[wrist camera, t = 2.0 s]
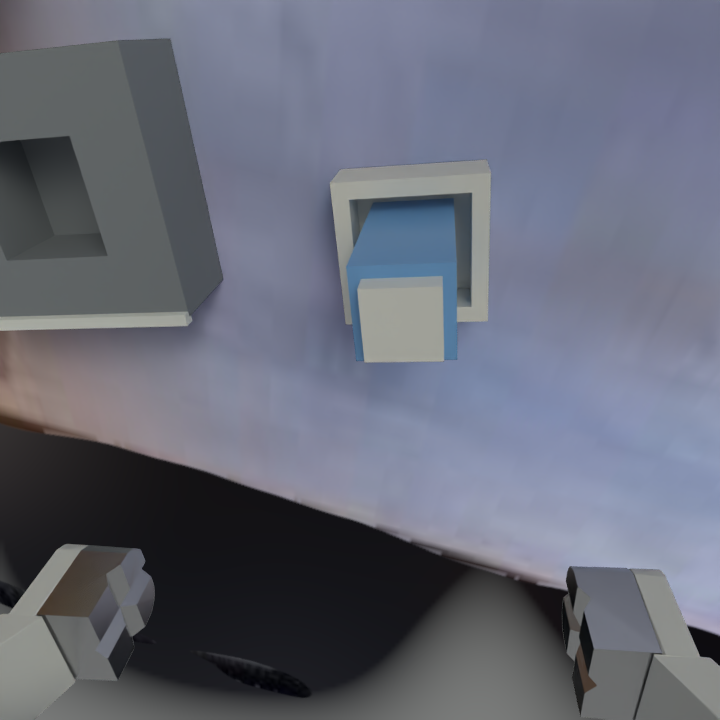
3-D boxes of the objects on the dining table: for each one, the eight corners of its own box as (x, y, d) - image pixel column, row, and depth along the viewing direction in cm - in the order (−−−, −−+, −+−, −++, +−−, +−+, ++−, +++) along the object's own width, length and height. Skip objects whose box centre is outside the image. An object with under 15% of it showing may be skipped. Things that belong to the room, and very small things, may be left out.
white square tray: (486, 159, 28) (491, 172, 25) (484, 297, 31) (487, 321, 29) (340, 169, 29) (329, 183, 26) (353, 301, 32) (345, 324, 30)
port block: (170, 38, 27) (112, 40, 22) (224, 284, 33) (187, 326, 28) (-55, 62, 29) (-151, 69, 24) (36, 290, 35) (-28, 331, 30)
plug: (453, 198, 28) (457, 272, 20) (454, 274, 30) (457, 373, 21) (373, 202, 29) (341, 276, 20) (378, 277, 31) (352, 373, 22)
